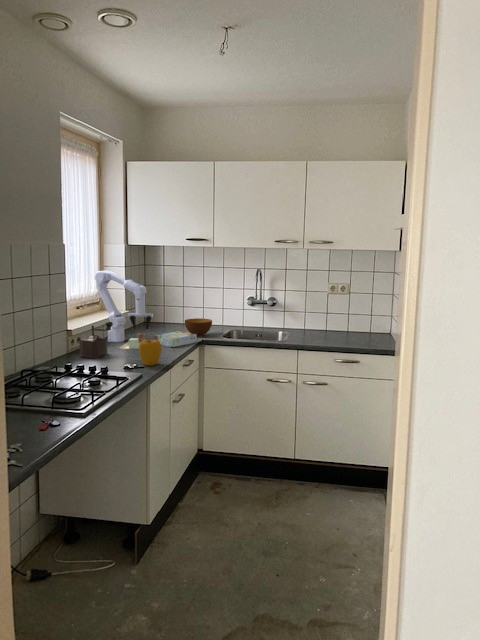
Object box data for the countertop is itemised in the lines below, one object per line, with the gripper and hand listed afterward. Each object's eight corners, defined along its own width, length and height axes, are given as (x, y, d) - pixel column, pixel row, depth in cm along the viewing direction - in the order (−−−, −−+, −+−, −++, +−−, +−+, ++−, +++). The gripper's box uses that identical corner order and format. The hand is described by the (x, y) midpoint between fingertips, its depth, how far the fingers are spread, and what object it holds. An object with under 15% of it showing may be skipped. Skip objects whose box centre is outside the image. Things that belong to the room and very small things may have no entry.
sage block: (129, 348, 302) (128, 339, 301) (131, 346, 306) (131, 338, 305) (136, 348, 301) (136, 339, 300) (139, 346, 306) (138, 338, 305)
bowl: (187, 339, 335) (187, 323, 333) (182, 334, 351) (182, 318, 350) (214, 337, 339) (214, 322, 338) (209, 332, 356) (208, 318, 355)
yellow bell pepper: (163, 362, 273) (162, 337, 271) (159, 367, 262) (159, 341, 260) (141, 361, 273) (140, 337, 271) (137, 367, 262) (136, 341, 260)
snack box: (154, 344, 316) (173, 347, 307) (154, 335, 315) (173, 338, 306) (178, 339, 333) (197, 342, 324) (178, 330, 332) (197, 333, 323)
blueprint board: (118, 349, 302) (118, 348, 302) (130, 341, 326) (130, 340, 325) (148, 350, 301) (148, 348, 300) (158, 342, 324) (158, 340, 324)
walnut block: (136, 342, 317) (136, 334, 317) (138, 341, 322) (138, 333, 321) (144, 343, 317) (143, 334, 316) (146, 341, 321) (145, 333, 321)
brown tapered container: (95, 359, 278) (94, 325, 275) (79, 356, 283) (78, 323, 281) (115, 353, 292) (114, 321, 289) (100, 351, 297) (99, 319, 294)
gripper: (126, 306, 313) (127, 329, 315) (151, 307, 312) (151, 330, 314) (129, 305, 320) (130, 327, 322) (153, 305, 318) (154, 328, 321)
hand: (141, 328), depth 318 cm, fingers open, 7 cm apart
